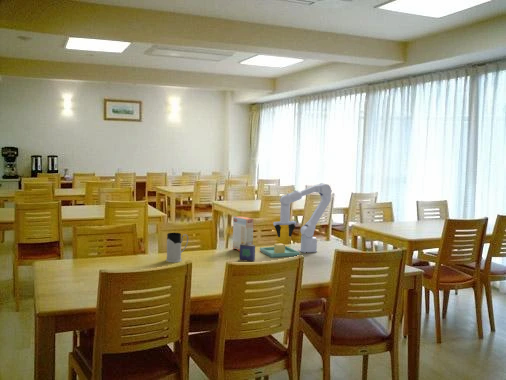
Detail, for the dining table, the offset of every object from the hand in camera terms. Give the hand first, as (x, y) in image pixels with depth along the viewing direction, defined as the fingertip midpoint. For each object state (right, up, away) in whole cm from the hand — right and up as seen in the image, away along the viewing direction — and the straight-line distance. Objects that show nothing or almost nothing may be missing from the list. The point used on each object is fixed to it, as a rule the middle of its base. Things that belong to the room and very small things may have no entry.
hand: (284, 236), depth 284 cm
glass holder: (-62, -11, -26) cm, 68 cm away
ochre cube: (-3, -9, -5) cm, 11 cm away
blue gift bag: (-23, -11, -24) cm, 35 cm away
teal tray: (-3, -10, -5) cm, 11 cm away
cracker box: (-26, -9, +1) cm, 27 cm away
